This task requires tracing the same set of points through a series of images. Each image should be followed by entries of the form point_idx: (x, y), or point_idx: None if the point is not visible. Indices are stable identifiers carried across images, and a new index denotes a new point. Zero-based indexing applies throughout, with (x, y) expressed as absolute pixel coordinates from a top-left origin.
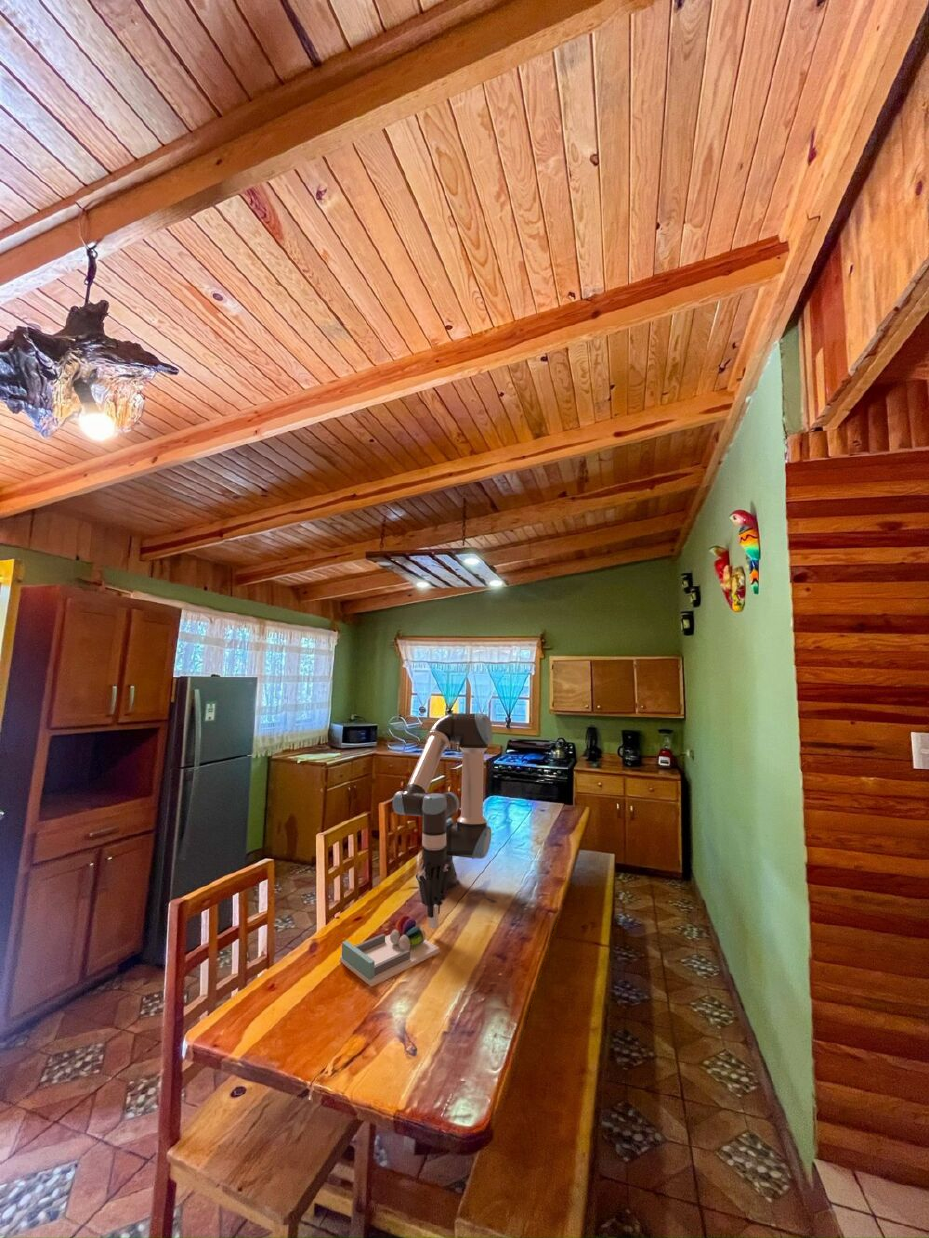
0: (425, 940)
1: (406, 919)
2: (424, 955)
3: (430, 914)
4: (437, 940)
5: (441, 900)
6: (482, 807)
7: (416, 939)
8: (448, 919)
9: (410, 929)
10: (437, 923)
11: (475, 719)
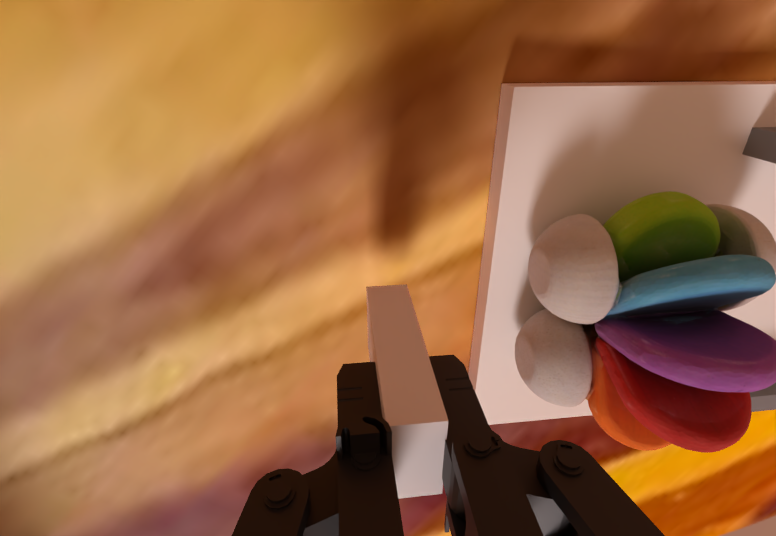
0: (501, 245)
1: (697, 412)
2: (664, 85)
3: (468, 377)
4: (393, 225)
5: (309, 475)
6: None
7: (697, 209)
8: (154, 384)
9: (770, 287)
10: (379, 305)
11: None
